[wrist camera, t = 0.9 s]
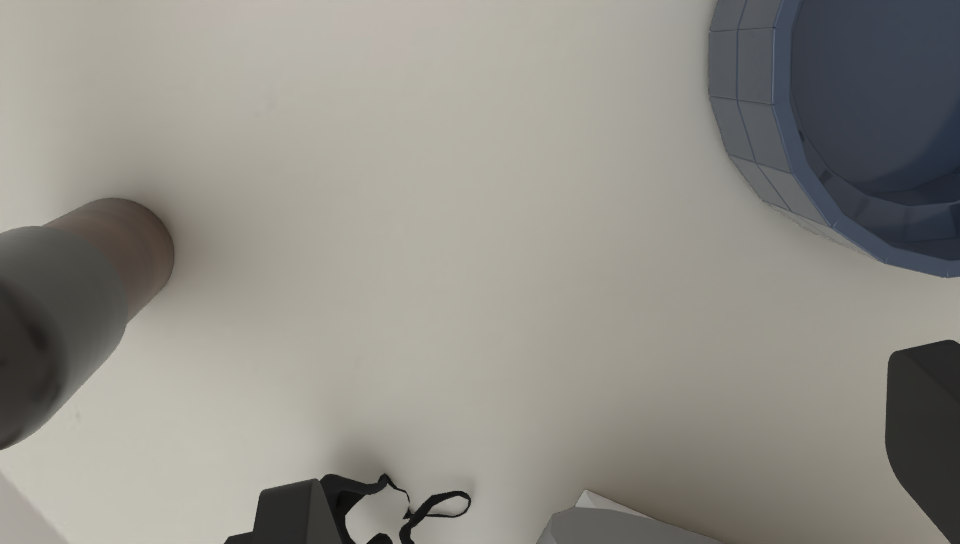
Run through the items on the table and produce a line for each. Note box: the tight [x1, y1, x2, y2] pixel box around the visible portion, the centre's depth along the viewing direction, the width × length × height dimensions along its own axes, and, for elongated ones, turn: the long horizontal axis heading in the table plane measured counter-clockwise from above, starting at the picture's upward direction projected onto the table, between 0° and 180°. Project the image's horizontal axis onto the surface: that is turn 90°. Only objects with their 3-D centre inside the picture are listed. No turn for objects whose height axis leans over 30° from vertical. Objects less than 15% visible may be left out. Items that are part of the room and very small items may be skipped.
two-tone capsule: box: [0, 198, 174, 450], centre depth 24 cm, size 5×5×13 cm
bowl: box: [709, 0, 960, 278], centre depth 29 cm, size 14×14×6 cm
